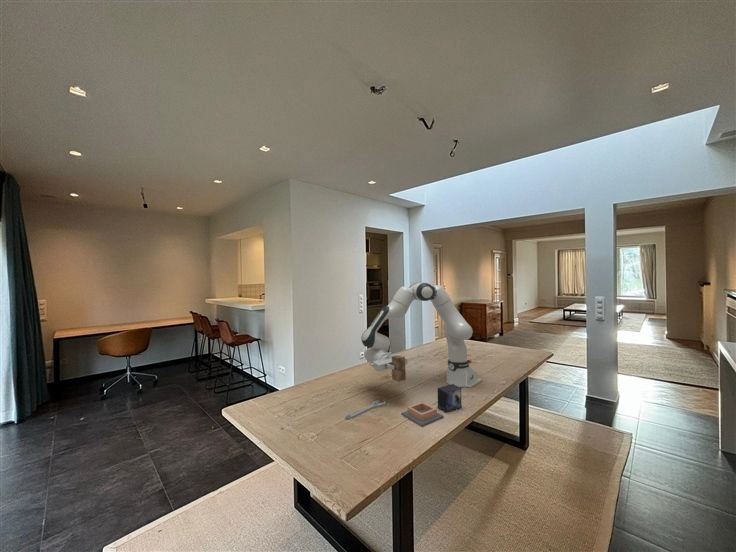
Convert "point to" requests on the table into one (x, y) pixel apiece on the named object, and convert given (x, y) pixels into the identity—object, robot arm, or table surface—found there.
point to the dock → (422, 414)
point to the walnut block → (398, 368)
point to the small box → (449, 398)
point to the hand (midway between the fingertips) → (399, 366)
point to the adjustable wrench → (366, 409)
